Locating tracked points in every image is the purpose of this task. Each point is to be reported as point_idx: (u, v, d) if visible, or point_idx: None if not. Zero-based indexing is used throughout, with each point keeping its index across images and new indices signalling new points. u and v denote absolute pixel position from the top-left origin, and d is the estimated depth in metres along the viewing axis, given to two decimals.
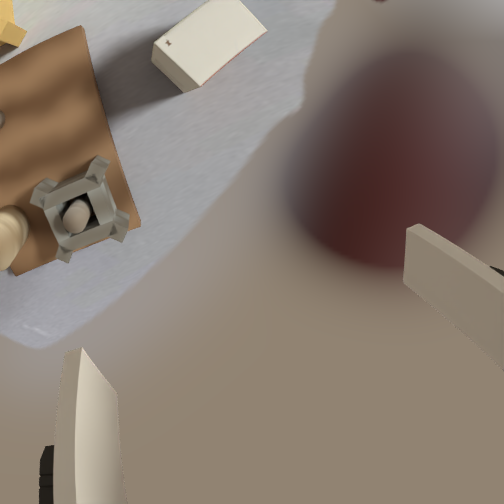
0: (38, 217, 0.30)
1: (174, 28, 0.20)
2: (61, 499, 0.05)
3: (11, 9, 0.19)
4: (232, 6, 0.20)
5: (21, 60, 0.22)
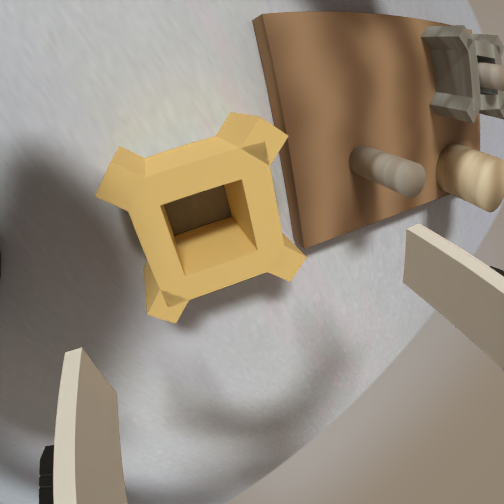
0: (453, 130, 0.25)
1: None
2: (61, 499, 0.05)
3: (181, 147, 0.20)
4: None
5: (295, 111, 0.20)
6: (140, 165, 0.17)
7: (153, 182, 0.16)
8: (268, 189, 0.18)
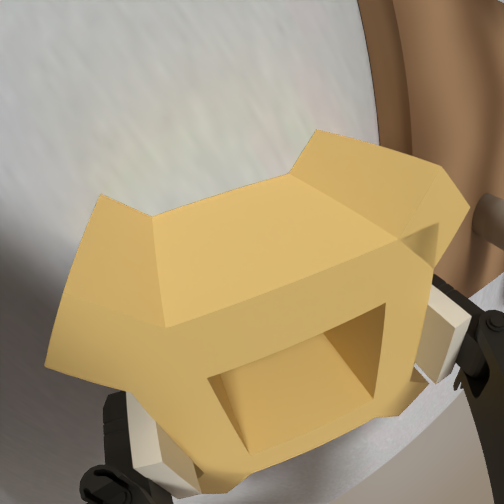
0: None
1: None
2: (139, 435, 0.06)
3: (226, 197, 0.11)
4: None
5: (427, 138, 0.10)
6: (146, 257, 0.08)
7: (189, 336, 0.06)
8: (419, 310, 0.08)
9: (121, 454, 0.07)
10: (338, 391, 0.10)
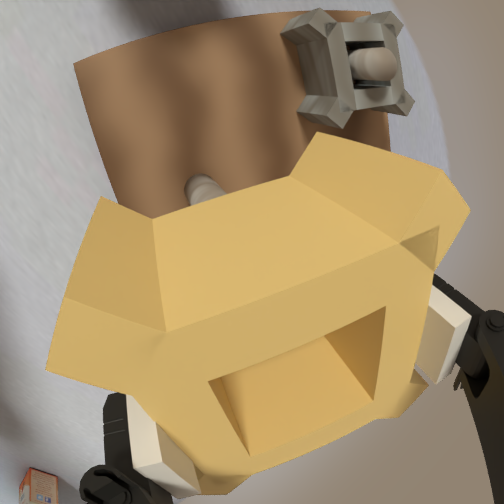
0: (341, 136, 0.25)
1: None
2: (139, 435, 0.06)
3: (226, 200, 0.11)
4: None
5: (113, 152, 0.20)
6: (146, 260, 0.08)
7: (190, 340, 0.06)
8: (419, 313, 0.08)
9: (121, 454, 0.07)
10: (338, 393, 0.10)
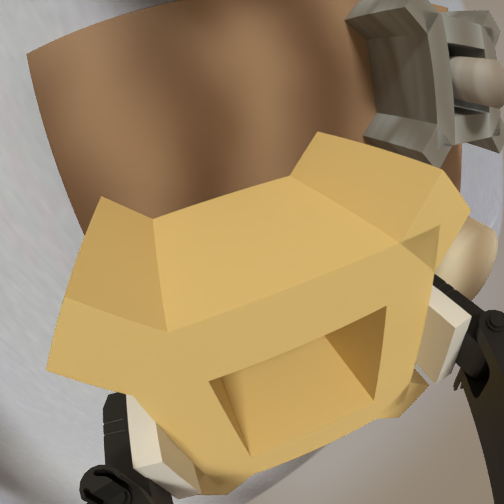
0: None
1: None
2: (139, 435, 0.06)
3: (227, 199, 0.11)
4: None
5: (88, 195, 0.13)
6: (147, 260, 0.08)
7: (191, 340, 0.06)
8: (420, 313, 0.08)
9: (121, 454, 0.07)
10: (339, 393, 0.10)
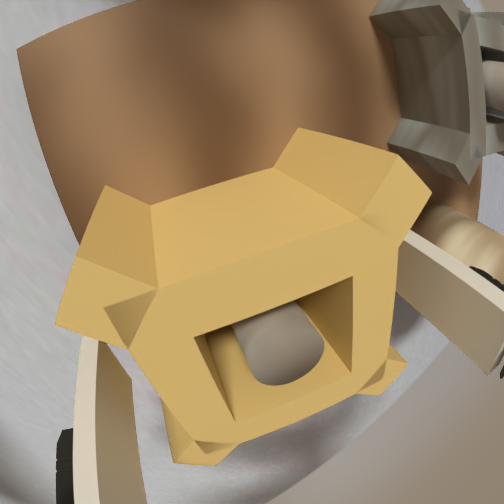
0: (435, 180, 0.16)
1: None
2: (81, 479, 0.05)
3: (216, 188, 0.12)
4: None
5: (86, 208, 0.11)
6: (144, 236, 0.09)
7: (178, 296, 0.07)
8: (388, 286, 0.09)
9: (70, 493, 0.05)
10: (318, 366, 0.12)
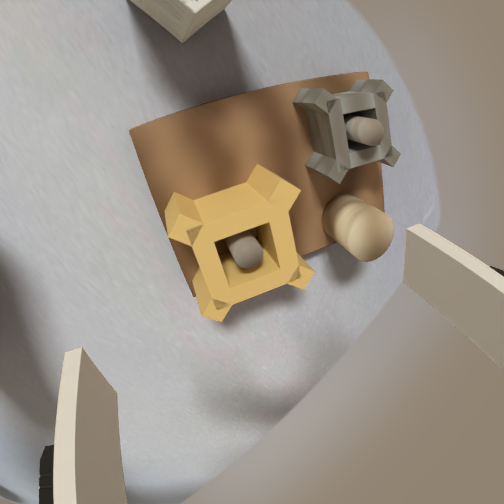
0: (341, 181, 0.32)
1: None
2: (61, 499, 0.05)
3: (221, 192, 0.29)
4: None
5: (165, 201, 0.28)
6: (195, 210, 0.26)
7: (209, 226, 0.24)
8: (287, 227, 0.26)
9: None
10: (267, 267, 0.28)
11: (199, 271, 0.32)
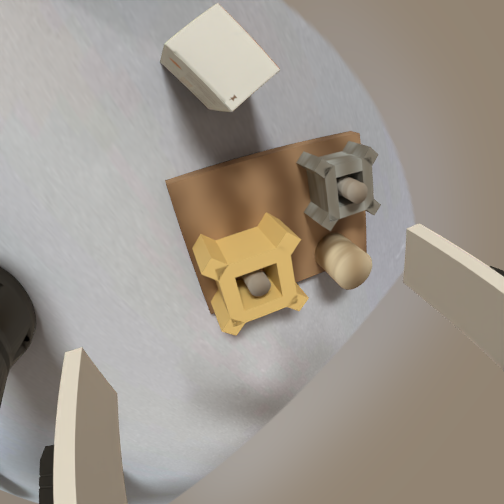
0: None
1: (216, 92, 0.22)
2: (61, 499, 0.05)
3: (237, 235, 0.37)
4: (190, 36, 0.19)
5: (193, 241, 0.36)
6: (219, 252, 0.34)
7: (232, 267, 0.32)
8: (289, 266, 0.34)
9: None
10: (272, 294, 0.37)
11: (217, 294, 0.40)
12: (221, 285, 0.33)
